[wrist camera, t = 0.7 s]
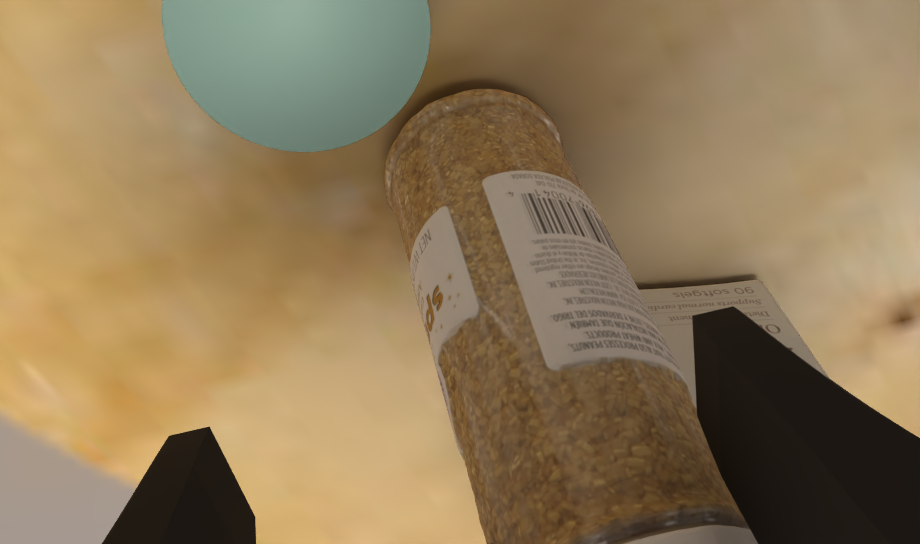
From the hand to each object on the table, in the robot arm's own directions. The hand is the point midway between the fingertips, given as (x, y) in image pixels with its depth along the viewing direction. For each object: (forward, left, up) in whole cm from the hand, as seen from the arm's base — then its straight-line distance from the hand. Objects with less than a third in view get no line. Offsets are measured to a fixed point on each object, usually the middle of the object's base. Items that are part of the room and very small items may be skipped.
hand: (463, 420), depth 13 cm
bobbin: (+2, -4, -10) cm, 11 cm away
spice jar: (-1, +1, -10) cm, 10 cm away
